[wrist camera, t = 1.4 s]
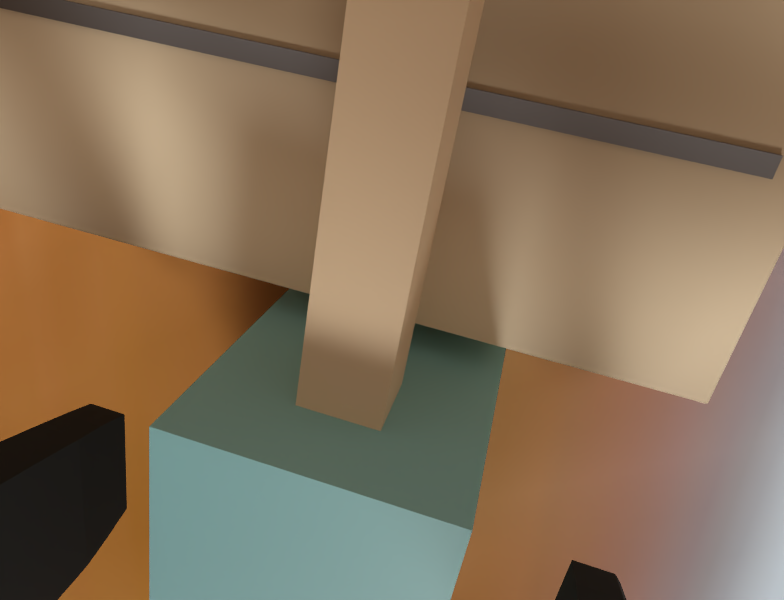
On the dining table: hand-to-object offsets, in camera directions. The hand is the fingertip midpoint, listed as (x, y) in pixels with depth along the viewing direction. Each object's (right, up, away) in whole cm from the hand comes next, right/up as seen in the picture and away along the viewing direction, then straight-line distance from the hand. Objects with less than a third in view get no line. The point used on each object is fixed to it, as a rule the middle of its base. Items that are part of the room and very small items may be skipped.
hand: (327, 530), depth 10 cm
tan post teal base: (+1, +4, +2) cm, 5 cm away
